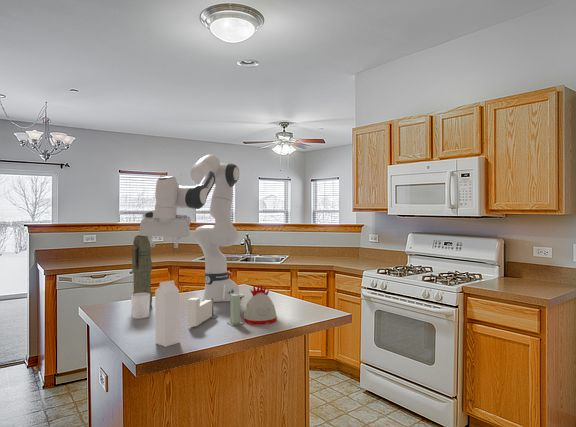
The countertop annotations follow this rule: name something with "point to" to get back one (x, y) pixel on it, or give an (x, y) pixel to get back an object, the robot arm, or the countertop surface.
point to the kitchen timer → (260, 308)
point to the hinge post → (212, 310)
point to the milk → (167, 314)
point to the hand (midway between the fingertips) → (164, 247)
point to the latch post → (235, 310)
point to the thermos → (142, 265)
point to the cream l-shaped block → (198, 311)
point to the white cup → (140, 305)
